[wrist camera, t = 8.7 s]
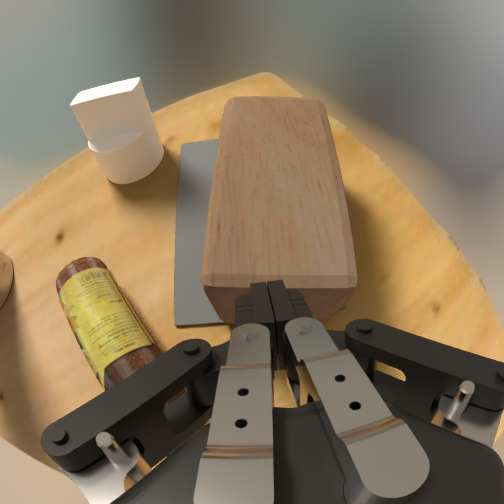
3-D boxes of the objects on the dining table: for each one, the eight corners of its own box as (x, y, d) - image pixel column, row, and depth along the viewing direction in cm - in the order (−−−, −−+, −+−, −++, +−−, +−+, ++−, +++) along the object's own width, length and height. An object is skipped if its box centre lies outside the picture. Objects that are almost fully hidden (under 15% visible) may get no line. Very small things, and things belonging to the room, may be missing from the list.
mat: (175, 325, 26) (174, 325, 26) (182, 145, 37) (181, 144, 36) (344, 307, 26) (345, 306, 26) (299, 134, 37) (299, 132, 37)
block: (364, 290, 16) (325, 95, 25) (195, 289, 17) (224, 93, 25) (328, 326, 25) (313, 161, 34) (218, 325, 25) (232, 160, 34)
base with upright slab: (170, 135, 38) (149, 65, 27) (155, 181, 34) (123, 105, 23) (116, 141, 38) (88, 79, 27) (96, 186, 34) (56, 122, 23)
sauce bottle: (42, 285, 22) (149, 485, 14) (83, 243, 23) (213, 448, 15) (81, 303, 28) (181, 463, 20) (119, 268, 29) (233, 430, 21)
